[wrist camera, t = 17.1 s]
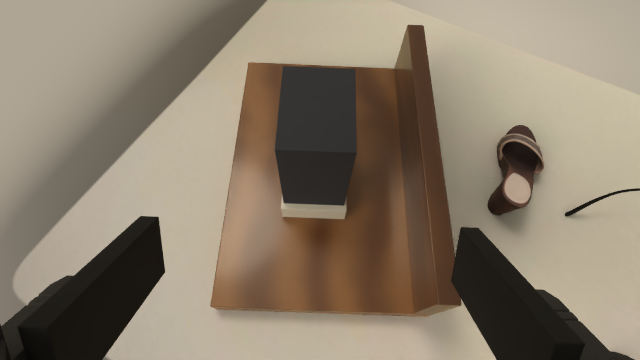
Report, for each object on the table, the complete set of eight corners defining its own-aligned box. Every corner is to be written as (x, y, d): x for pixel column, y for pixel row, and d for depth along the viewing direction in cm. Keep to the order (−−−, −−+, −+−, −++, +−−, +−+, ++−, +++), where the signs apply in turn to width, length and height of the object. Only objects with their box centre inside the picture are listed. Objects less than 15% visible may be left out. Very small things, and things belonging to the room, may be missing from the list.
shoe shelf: (216, 309, 30) (187, 295, 23) (251, 74, 42) (239, 16, 35) (426, 316, 31) (462, 305, 23) (404, 81, 42) (423, 25, 35)
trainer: (344, 219, 32) (360, 159, 22) (282, 217, 32) (270, 156, 22) (344, 103, 38) (357, 15, 28) (291, 101, 38) (285, 11, 28)
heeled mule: (542, 144, 39) (565, 124, 35) (516, 230, 34) (540, 216, 31) (502, 128, 39) (520, 106, 36) (472, 209, 35) (490, 194, 32)
